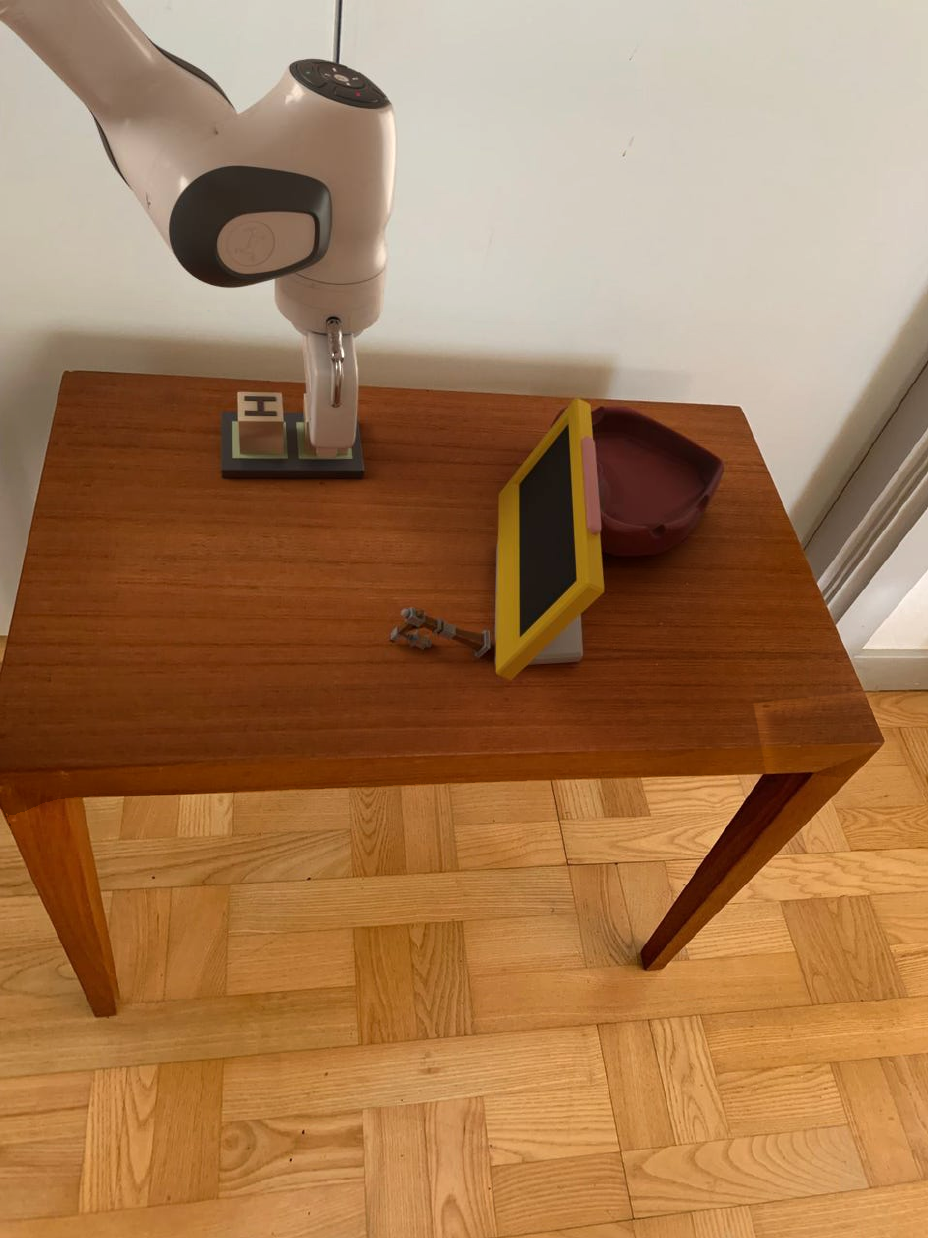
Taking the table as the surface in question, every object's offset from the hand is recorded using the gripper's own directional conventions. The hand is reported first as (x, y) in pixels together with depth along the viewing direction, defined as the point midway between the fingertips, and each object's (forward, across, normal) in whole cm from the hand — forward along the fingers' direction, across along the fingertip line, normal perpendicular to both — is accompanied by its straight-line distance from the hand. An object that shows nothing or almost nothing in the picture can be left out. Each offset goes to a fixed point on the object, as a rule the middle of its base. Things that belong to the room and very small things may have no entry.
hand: (322, 416), depth 86 cm
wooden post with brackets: (+4, -24, -8) cm, 26 cm away
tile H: (+3, 0, +6) cm, 6 cm away
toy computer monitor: (+4, -20, -17) cm, 27 cm away
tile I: (+3, 0, 0) cm, 3 cm away
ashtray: (+4, -7, -30) cm, 31 cm away
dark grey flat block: (+4, 0, +3) cm, 5 cm away
